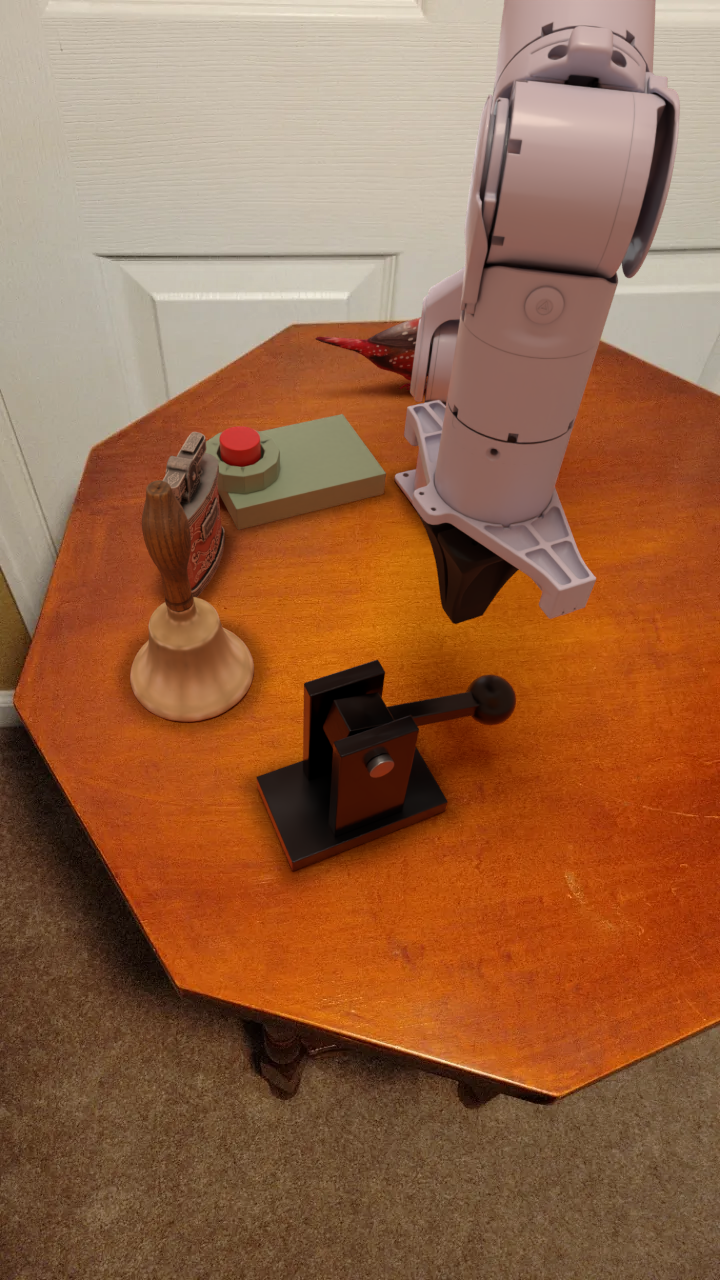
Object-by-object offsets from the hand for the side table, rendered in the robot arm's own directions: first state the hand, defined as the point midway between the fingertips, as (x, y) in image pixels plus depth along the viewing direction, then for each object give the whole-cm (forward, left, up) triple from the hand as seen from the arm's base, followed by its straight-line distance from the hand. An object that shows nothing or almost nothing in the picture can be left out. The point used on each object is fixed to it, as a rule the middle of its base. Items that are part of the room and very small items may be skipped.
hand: (463, 611), depth 46 cm
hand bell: (+14, -9, -11) cm, 20 cm away
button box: (0, -26, -10) cm, 28 cm away
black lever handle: (+4, +4, -5) cm, 7 cm away
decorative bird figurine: (-15, -35, -11) cm, 40 cm away
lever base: (+8, +4, -10) cm, 14 cm away
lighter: (+11, -19, -11) cm, 25 cm away
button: (+5, -26, -7) cm, 28 cm away
